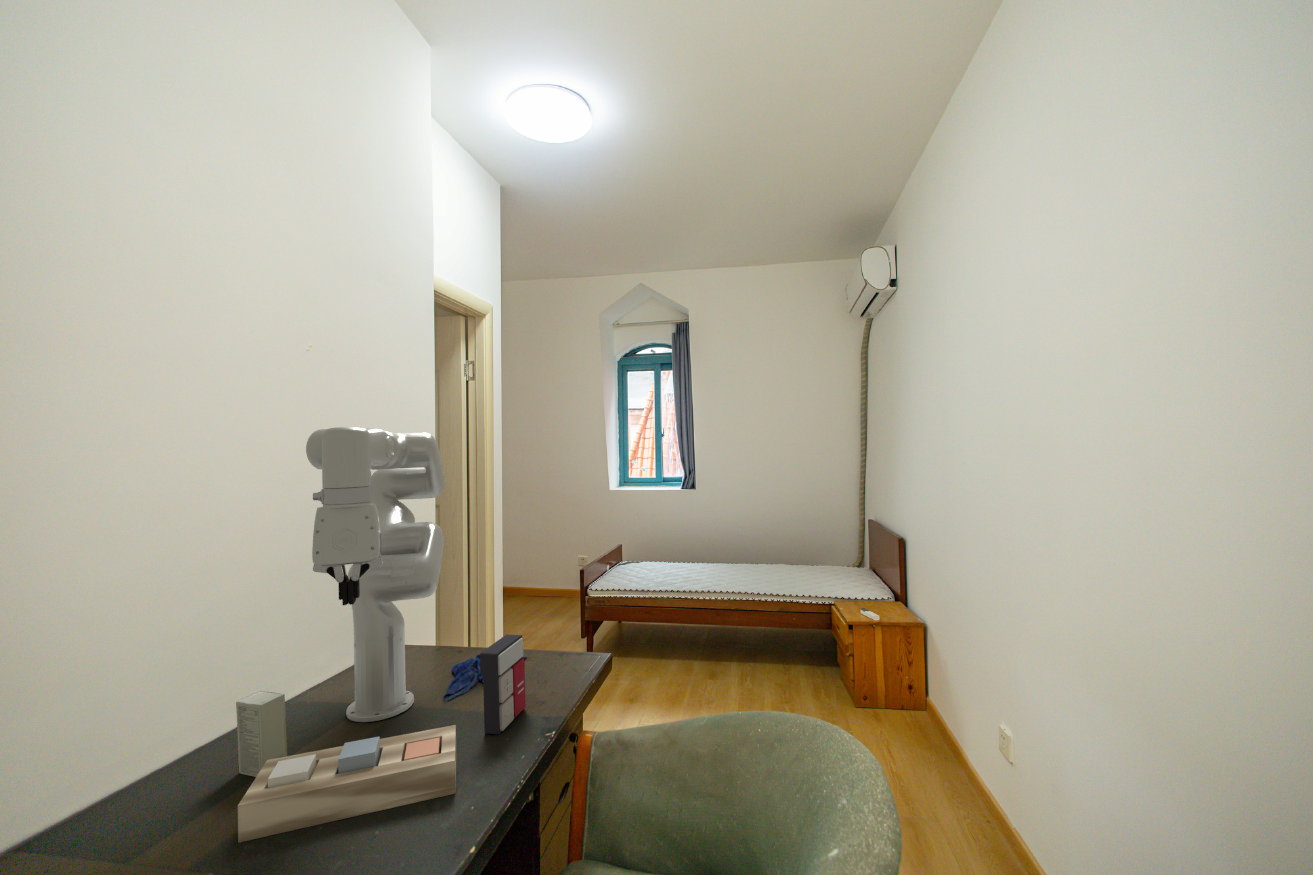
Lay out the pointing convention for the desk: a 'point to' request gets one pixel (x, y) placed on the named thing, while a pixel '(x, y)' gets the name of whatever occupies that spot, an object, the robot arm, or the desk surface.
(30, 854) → the desk surface
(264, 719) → the skincare box
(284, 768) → the offwhite key
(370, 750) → the slate key
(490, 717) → the calculator
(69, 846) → the desk surface
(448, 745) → the key console
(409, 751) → the terracotta key
